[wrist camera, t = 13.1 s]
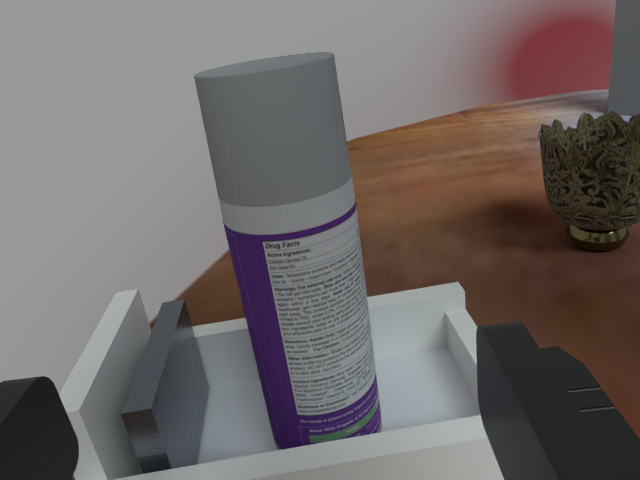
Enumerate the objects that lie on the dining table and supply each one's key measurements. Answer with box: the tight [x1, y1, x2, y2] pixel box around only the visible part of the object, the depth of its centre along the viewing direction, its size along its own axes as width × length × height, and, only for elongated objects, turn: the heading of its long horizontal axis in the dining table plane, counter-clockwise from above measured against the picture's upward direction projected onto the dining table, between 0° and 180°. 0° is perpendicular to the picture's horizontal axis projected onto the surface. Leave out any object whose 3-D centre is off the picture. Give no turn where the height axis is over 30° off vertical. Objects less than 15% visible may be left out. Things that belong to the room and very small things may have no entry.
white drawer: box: [59, 282, 504, 480], centre depth 21 cm, size 16×10×6 cm, turn 95°
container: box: [194, 52, 382, 450], centre depth 19 cm, size 5×5×15 cm
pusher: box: [121, 299, 209, 474], centre depth 21 cm, size 1×7×5 cm, turn 5°
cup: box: [539, 111, 640, 251], centre depth 34 cm, size 8×7×8 cm
